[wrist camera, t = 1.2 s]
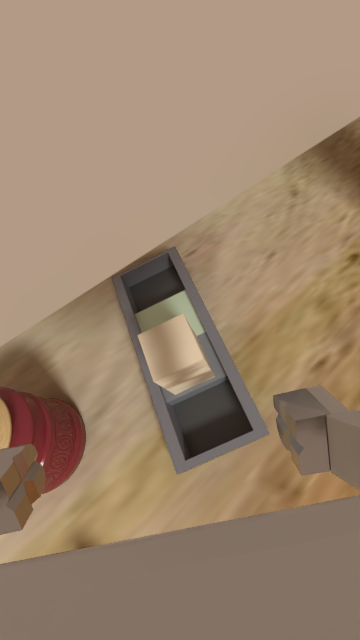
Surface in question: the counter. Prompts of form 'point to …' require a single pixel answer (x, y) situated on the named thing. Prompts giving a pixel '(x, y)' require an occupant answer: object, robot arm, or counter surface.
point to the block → (175, 355)
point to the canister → (43, 432)
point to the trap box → (227, 386)
